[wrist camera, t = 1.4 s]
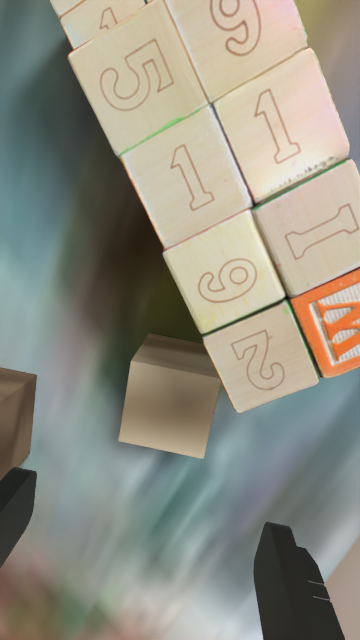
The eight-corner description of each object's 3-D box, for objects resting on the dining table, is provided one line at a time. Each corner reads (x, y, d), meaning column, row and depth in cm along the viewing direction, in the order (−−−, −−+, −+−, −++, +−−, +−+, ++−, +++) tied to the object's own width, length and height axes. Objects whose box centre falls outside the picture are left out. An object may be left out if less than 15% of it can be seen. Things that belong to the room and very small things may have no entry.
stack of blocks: (75, 21, 19) (-136, -358, 7) (167, -38, 18) (100, -589, 6) (218, 331, 23) (236, 421, 11) (302, 295, 22) (425, 349, 10)
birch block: (149, 333, 23) (131, 360, 17) (216, 346, 23) (221, 378, 17) (138, 395, 24) (118, 441, 18) (203, 408, 24) (203, 458, 18)
